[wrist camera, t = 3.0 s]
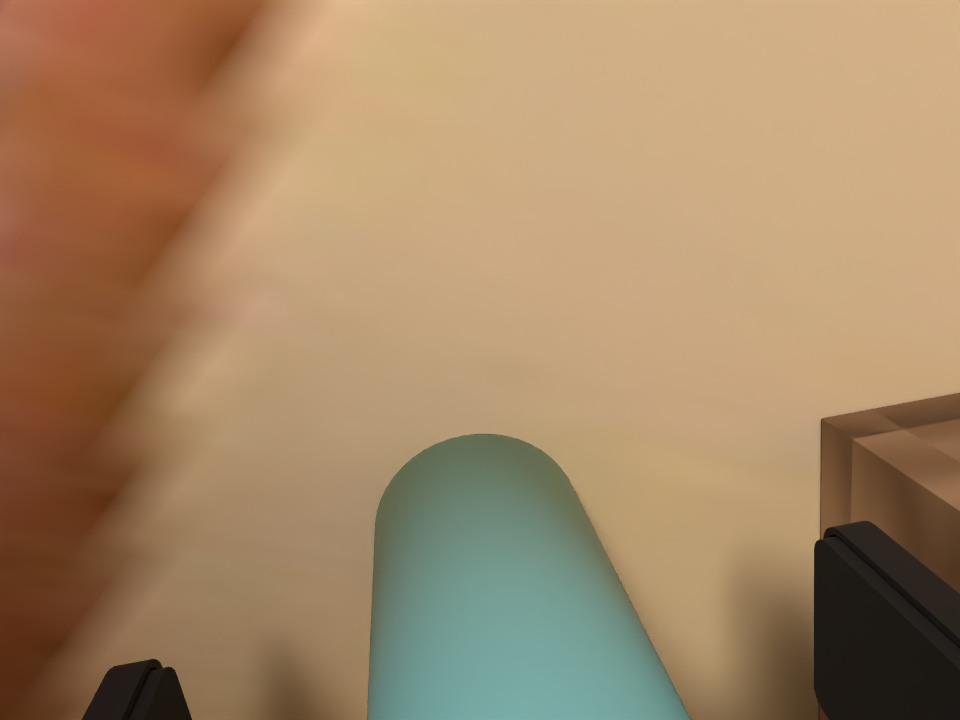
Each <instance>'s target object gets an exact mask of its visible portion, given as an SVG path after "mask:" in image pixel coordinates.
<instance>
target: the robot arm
mask: <svg viewBox="0 0 960 720" xmlns="http://www.w3.org/2000/svg"><path fill="white" fill-rule="evenodd" d="M814 689H815V693H816V697H817V699H818V702H819V704H820V706H821V708H822V710H823V711H824V713H825V714H826V716H827V717H828V719H829V720H960V594H959V593H958V592H957V591H955V590H954V589H953V588H952V587H951V586H949V585H948V584H947V583H946V582H944V581H943V580H942V579H941V578H940V577H938V576H937V575H936V574H935V573H933V572H932V571H931V570H930V569H929V568H927V567H926V566H925V565H924V564H922V563H921V562H920V561H919V560H917V559H916V558H915V557H914V556H913V555H911V554H910V553H909V552H908V551H906V550H905V549H904V548H903V547H902V546H900V545H899V544H898V543H897V542H895V541H894V540H893V539H892V538H891V537H889V536H888V535H887V534H886V533H884V532H883V531H882V530H881V529H880V528H878V527H877V526H876V525H875V524H873V523H871V522H870V521H859V522H854V523H849V524H844V525H838V526H833V527H829V528H827V529H826V530H825V532H824V535H823V539H820V540H818V541H816V543H815V548H814ZM82 720H192V718H191V715H190V712H189V709H188V707H187V704H186V701H185V698H184V695H183V692H182V689H181V686H180V683H179V680H178V677H177V675H176V672H175V670H174V669H173V668H172V667H166V668H163V667H162V665H161V663H160V662H159V661H158V660H156V659H150V660H145V661H140V662H135V663H130V664H125V665H119V666H114V667H112V668H111V669H109V671H108V672H107V674H106V675H105V677H104V679H103V681H102V683H101V684H100V686H99V688H98V690H97V692H96V694H95V696H94V698H93V700H92V701H91V703H90V705H89V707H88V709H87V711H86V713H85V715H84V717H83V718H82Z"/></svg>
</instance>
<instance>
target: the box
mask: <svg viewBox="0 0 960 720" xmlns="http://www.w3.org/2000/svg"><path fill="white" fill-rule="evenodd" d="M859 521H870V522H871V523H873V524H875V525H876V526H877V527H878V528H880V529H881V530H882V531H883V532H884V533H886V534H887V535H888V536H889V537H891V538H892V539H893V540H894V541H895V542H897V543H898V544H899V545H900V546H902V547H903V548H904V549H905V550H906V551H908V552H909V553H910V554H911V555H913V556H914V557H915V558H916V559H917V560H919V561H920V562H921V563H922V564H924V565H925V566H926V567H927V568H929V569H930V570H931V571H932V572H933V573H935V574H936V575H937V576H938V577H940V578H941V579H942V580H943V581H944V582H946V583H947V584H948V585H949V586H951V587H952V588H953V589H954V590H955V591H957V592H958V593H959V594H960V393H957V394H952V395H946V396H941V397H935V398H930V399H925V400H919V401H914V402H908V403H903V404H898V405H892V406H887V407H882V408H876V409H871V410H865V411H860V412H855V413H849V414H844V415H839V416H833V417H828V418H822V463H821V539H823V535H824V532H825V530H826V529H827V528H829V527H833V526H838V525H844V524H849V523H854V522H859ZM819 720H829V719H828V717H827V716H826V714H825V713H824V711H823V710H822V708H821V706H820V713H819Z"/></svg>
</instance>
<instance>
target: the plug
mask: <svg viewBox="0 0 960 720" xmlns="http://www.w3.org/2000/svg"><path fill="white" fill-rule="evenodd" d="M367 720H691V719H690V717H689V715H688V713H687V711H686V709H685V707H684V705H683V703H682V701H681V699H680V697H679V695H678V693H677V691H676V690H675V688H674V686H673V684H672V682H671V680H670V678H669V676H668V674H667V672H666V670H665V668H664V666H663V664H662V662H661V660H660V658H659V656H658V654H657V652H656V650H655V648H654V646H653V644H652V642H651V640H650V638H649V636H648V634H647V632H646V630H645V628H644V627H643V625H642V623H641V621H640V619H639V617H638V615H637V613H636V611H635V609H634V607H633V605H632V603H631V601H630V599H629V597H628V595H627V593H626V591H625V589H624V587H623V585H622V583H621V581H620V579H619V577H618V575H617V573H616V571H615V569H614V567H613V565H612V564H611V562H610V560H609V558H608V556H607V554H606V552H605V550H604V548H603V546H602V544H601V542H600V540H599V538H598V536H597V534H596V532H595V530H594V528H593V526H592V524H591V522H590V520H589V518H588V516H587V514H586V512H585V510H584V508H583V506H582V504H581V502H580V501H579V499H578V497H577V495H576V493H575V491H574V489H573V487H572V485H571V483H570V481H569V479H568V477H567V476H566V474H565V473H564V472H563V470H562V469H561V468H560V466H559V465H558V464H557V463H556V462H555V461H554V460H553V459H552V458H551V457H549V456H548V455H547V454H545V453H544V452H543V451H541V450H540V449H538V448H536V447H534V446H533V445H531V444H529V443H526V442H524V441H521V440H519V439H515V438H512V437H508V436H503V435H495V434H473V435H465V436H460V437H456V438H452V439H448V440H446V441H443V442H440V443H438V444H435V445H433V446H431V447H430V448H428V449H426V450H424V451H422V452H421V453H419V454H418V455H417V456H415V457H414V458H412V459H411V460H410V461H409V462H408V463H407V464H406V465H404V466H403V467H402V468H401V469H400V471H399V472H398V473H397V474H396V475H395V476H394V477H393V479H392V481H391V482H390V484H389V485H388V487H387V488H386V490H385V492H384V494H383V496H382V498H381V501H380V504H379V507H378V510H377V515H376V521H375V538H374V562H373V587H372V611H371V635H370V659H369V684H368V708H367Z"/></svg>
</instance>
